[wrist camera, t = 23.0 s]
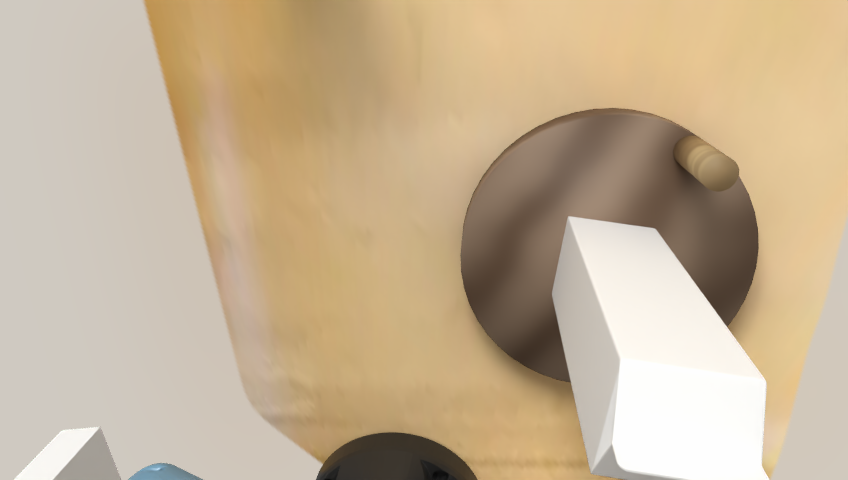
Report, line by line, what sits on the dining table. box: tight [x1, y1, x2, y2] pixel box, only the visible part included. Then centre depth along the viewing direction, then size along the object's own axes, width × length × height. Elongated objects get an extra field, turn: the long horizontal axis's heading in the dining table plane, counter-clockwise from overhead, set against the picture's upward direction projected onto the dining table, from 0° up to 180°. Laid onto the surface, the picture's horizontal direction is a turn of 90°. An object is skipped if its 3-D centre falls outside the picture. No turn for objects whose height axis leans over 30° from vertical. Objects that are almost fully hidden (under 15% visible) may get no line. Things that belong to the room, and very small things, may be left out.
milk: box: [552, 216, 769, 480], centre depth 35 cm, size 6×6×22 cm
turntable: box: [461, 108, 758, 383], centre depth 44 cm, size 20×20×9 cm
